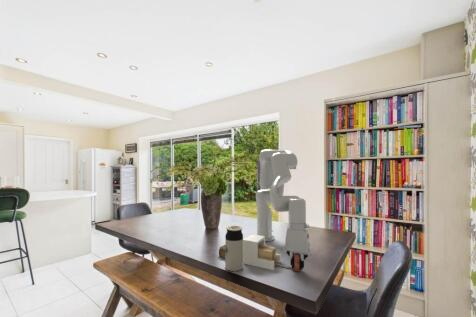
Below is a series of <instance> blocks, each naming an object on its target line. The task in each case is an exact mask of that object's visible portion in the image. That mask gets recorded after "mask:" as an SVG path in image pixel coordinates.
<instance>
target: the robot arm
mask: <svg viewBox="0 0 476 317" xmlns="http://www.w3.org/2000/svg"><path fill="white" fill-rule="evenodd" d="M258 160H259V164H260V171H259V186H260V187H261V188H262V189H259V190H257V191H256V193H255V201H256V209H257V210H256V213H257V214H256V230H257V231H256V235H259V236H265V242H272V241H274V240H275V236H274V235H273V219H272V218H273V212H272V209H273V210H274V212H275V211H276V212H278V213H283V212H285V213H286V212H288V226H287V228H286V232H285V242H284V246H283V248H282V251H283V252H284V253H286V254H287V256H288V257H289V259H290V266H291V267H292V268H294V253H300V254H301V260H300V270H301V271H302V270H303V269H304V268H305V260H306V259H308V258H310V257H312V256H313V255H314V253H313V251H312V250H311V244H310V235H309V234H310V233H309V228H310V224H308V223H307V222H306V221H307V220H306V219H307V214H306V213H307V211H306V209H307V208H306V205H307V204H306V200H305V199H304V198H302V197H299V196H298V195H284V189H285V184H287V183H288V182H290V181H291V179H292V174H291V171H290V170H291V169H294V168H296V167H297V165H298V158H297V155H296V154H295V153H294V152H292V151H290V150H287V149H286V150H285V149H262V150H261V151H260V152H259V156H258ZM269 205H271V206H272V209H271V208H270V206H269Z"/></svg>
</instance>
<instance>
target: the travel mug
mask: <svg viewBox="0 0 476 317" xmlns="http://www.w3.org/2000/svg"><path fill="white" fill-rule="evenodd" d="M225 229H226V233H225V244H224V245H225V258H224V260H225V264H224V265H225V267H224V268H225V269H226V270H227V271H230V272H238V271H240V270H242V269H243V268H244V263H243V240H244V234H243V232H242V230H243V227H242V226H240V225H229V226H226V228H225Z"/></svg>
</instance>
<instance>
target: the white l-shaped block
mask: <svg viewBox="0 0 476 317" xmlns="http://www.w3.org/2000/svg"><path fill="white" fill-rule="evenodd" d="M260 245H263V246H266V241H265V236H259V235H257V234H254V233H253V234H250V235H248V236H247V237H246V238H243V265H245V264H246V265H249V266H252V267H253V266H254V267H257V268H262V269H266V270H270V271H274V270H275V265H274V261H271V260H266V259H261V258H258V247H259V246H260ZM281 258H282V256H281V253H276V263H278V264H280V263H281V261H282V260H281Z"/></svg>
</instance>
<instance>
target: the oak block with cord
mask: <svg viewBox="0 0 476 317" xmlns="http://www.w3.org/2000/svg"><path fill="white" fill-rule="evenodd" d="M276 254H277V248H276V247H273V246H269V245H268V246H267V245H265V246H263V245H260V246H259V247H258V258H261V259H266V260H271V261H274V266H276V267H282V268H286V269H291V270H293V271H294V272H298V273H299V272H301V271H302V270H300V260H301V254H300V253H296V252H294V268H292V266H291V265H285V264H280V263H277V262H276Z"/></svg>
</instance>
